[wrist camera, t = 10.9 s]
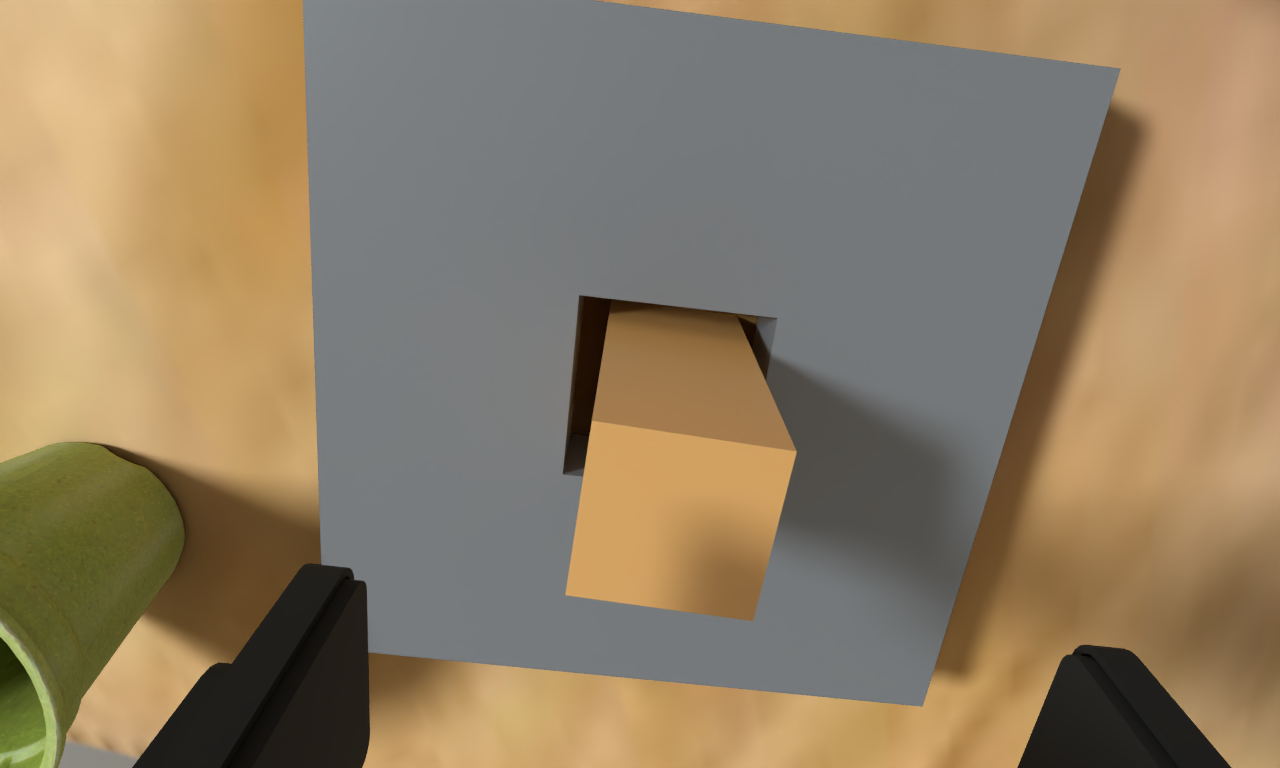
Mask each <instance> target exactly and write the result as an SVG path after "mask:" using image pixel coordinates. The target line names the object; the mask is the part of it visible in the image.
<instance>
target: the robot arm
mask: <svg viewBox="0 0 1280 768" xmlns="http://www.w3.org/2000/svg"><path fill="white" fill-rule="evenodd" d="M369 738H370V716H369V666H368V615H367V586H366V583H365V581H361V580H354V574H353V571H352V569H350V568H347V567H337V566H328V565H318V564H309V563H308V564H305V565H304V566H303V567H302V568H301V569H300V570H299V571H298V573H297V574H296V575H295V577H294V578H293V580H292V581H291V582H290V584H289V585H288V586H287V588H286V589H285V591H284V592H283V593H282V595H281V596H280V598H279V599H278V600H277V602H276V603H275V605H274V606H273V607H272V609H271V610H270V612H269V613H268V614H267V616H266V617H265V618H264V620H263V621H262V623H261V624H260V625H259V627H258V628H257V630H256V631H255V632H254V634H253V635H252V637H251V638H250V639H249V641H248V642H247V643H246V645H245V646H244V648H243V649H242V650H241V652H240V653H239V655H238V656H237V657H236V659H235V660H234V662H233V663H232V664H228V663H217V664H215V665H213V666H211V667H210V668H209V669H208V670H207V671H206V672H205V673H204V674H203V675H202V676H201V677H200V679H199V680H198V681H197V683H196V684H195V685H194V687H193V688H192V689H191V691H190V692H189V693H188V695H187V696H186V697H185V699H184V700H183V701H182V702H181V704H180V705H179V706H178V708H177V709H176V710H175V712H174V713H173V714H172V716H171V717H170V718H169V720H168V721H167V722H166V724H165V725H164V726H163V728H162V729H161V730H160V732H159V733H158V734H157V736H156V737H155V738H154V740H153V741H152V742H151V743H150V745H149V746H148V747H147V749H146V750H145V751H144V753H143V754H142V755H141V757H140V758H139V759H138V761H137V762H136V763H135V765H134V766H133V767H132V768H362V767H363V764H364V761H365V758H366V754H367V750H368V746H369ZM1018 768H1231V767H1230V765H1229V764H1228V763H1227V762H1226V761H1225V760H1224V758H1223V757H1222V756H1221V755H1220V754H1219V752H1218V751H1217V750H1216V749H1215V748H1214V747H1213V745H1212V744H1211V743H1210V742H1209V741H1208V739H1207V738H1206V737H1205V736H1204V735H1203V734H1202V732H1201V731H1200V730H1199V729H1198V728H1197V726H1196V725H1195V724H1194V723H1193V722H1192V721H1191V719H1190V718H1189V717H1188V716H1187V715H1186V713H1185V712H1184V711H1183V710H1182V709H1181V708H1180V706H1179V705H1178V704H1177V703H1176V702H1175V701H1174V699H1173V698H1172V697H1171V696H1170V695H1169V693H1168V692H1167V691H1166V690H1165V689H1164V688H1163V686H1162V685H1161V684H1160V683H1159V682H1158V680H1157V679H1156V678H1155V677H1154V676H1153V675H1152V673H1151V672H1150V671H1149V670H1148V669H1147V667H1146V666H1145V665H1144V664H1143V663H1142V662H1141V660H1140V659H1139V658H1138V657H1137V656H1136V655H1135V654H1134V653H1133V652H1131V651H1129V650H1126V649H1121V648H1112V647H1102V646H1092V645H1081V646H1079V647H1078V648H1076V649H1075V650H1074V652H1073V654H1071V655H1066V656H1065V657H1064V658H1063V659H1062V661H1061V662H1060V665H1059V667H1058V670H1057V672H1056V675H1055V677H1054V680H1053V682H1052V684H1051V687H1050V689H1049V692H1048V694H1047V697H1046V699H1045V702H1044V704H1043V707H1042V709H1041V711H1040V714H1039V716H1038V719H1037V721H1036V724H1035V726H1034V729H1033V731H1032V734H1031V736H1030V739H1029V741H1028V743H1027V746H1026V748H1025V751H1024V753H1023V756H1022V758H1021V761H1020V763H1019V766H1018Z"/></svg>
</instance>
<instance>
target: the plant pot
mask: <svg viewBox="0 0 1280 768" xmlns="http://www.w3.org/2000/svg"><path fill="white" fill-rule="evenodd" d="M184 542H185V531H184V525H183V520H182V517H181V514H180V511H179V509H178V507H177V504H176V502H175V501H174V499H173V497H172V496H171V494H170V493H169V491H168V490H167V488H166V487H165V486H164V485H163V484H162V482H161V481H160V480H159V479H158V478H157V477H156V476H155V475H154V474H153V473H152V472H151V471H149V470H148V469H147V468H145V467H143V466H140V465H136V464H134V463H131V462H128V461H126V460H124V459H122V458H120V457H118V456H116V455H114V454H113V453H111V452H110V451H109V450H107V449H106V448H104V447H103V446H100V445H96V444H91V443H83V442H64V443H57V444H53V445H48V446H46V447H43V448H40V449H37V450H35V451H32V452H29V453H27V454H24V455H21V456H18V457H15V458H13V459H10V460H8V461H5V462H2V463H0V768H58V766H59V763H60V760H61V757H62V755H63V751H64V746H65V741H66V733H67V732H68V730H69V728H70V727H71V725H72V723H73V721H74V719H75V717H76V715H77V713H78V710H79V706H80V703H81V699H82V698H83V696H84V695H85V693H86V692H87V691H88V689H89V688H90V686H91V685H92V684H93V682H94V681H95V679H96V678H97V677H98V675H99V674H100V673H101V671H102V670H103V668H104V667H105V666H106V664H107V663H108V661H109V660H110V659H111V657H112V656H113V654H114V653H115V652H116V650H117V649H118V647H119V646H120V645H121V643H122V642H123V640H124V639H125V638H126V636H127V635H128V633H129V632H130V631H131V629H132V628H133V626H134V625H135V624H136V622H137V621H138V620H139V618H140V617H141V615H142V614H143V613H144V611H145V610H146V608H147V607H148V606H149V604H150V603H151V601H152V600H153V599H154V597H155V596H156V595H157V593H158V592H159V591H160V589H161V588H162V587H163V585H164V584H165V583H166V581H167V580H168V579H169V577H170V576H171V575H172V573H173V571H174V570H175V568H176V565H177V563H178V561H179V558H180V555H181V552H182V549H183V547H184Z"/></svg>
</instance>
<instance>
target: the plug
mask: <svg viewBox="0 0 1280 768" xmlns="http://www.w3.org/2000/svg"><path fill="white" fill-rule="evenodd" d="M796 453H797V451H796V449H795V446H794V444H793V442H792V440H791V437H790V435H789V433H788V430H787V428H786V426H785V424H784V421H783V419H782V417H781V415H780V412H779V410H778V408H777V406H776V403H775V401H774V399H773V397H772V394H771V392H770V390H769V388H768V385H767V383H766V381H765V378H764V376H763V374H762V372H761V369H760V367H759V365H758V363H757V360H756V358H755V356H754V354H753V351H752V349H751V347H750V345H749V342H748V340H747V338H746V335H745V333H744V331H743V329H742V326H741V324H740V322H739V320H738V317H737V316H733V315H726V314H720V313H714V312H708V311H701V310H695V309H689V308H682V307H676V306H669V305H660V304H651V303H643V302H634V301H626V300H617V299H612V300H611V306H610V312H609V318H608V324H607V331H606V337H605V343H604V349H603V355H602V361H601V367H600V374H599V380H598V386H597V392H596V398H595V404H594V410H593V416H592V423H591V429H590V436H589V442H588V449H587V456H586V462H585V469H584V475H583V482H582V488H581V495H580V501H579V508H578V515H577V521H576V528H575V534H574V541H573V547H572V554H571V561H570V567H569V574H568V580H567V587H566V593H565V595H568V596H575V597H582V598H589V599H596V600H604V601H611V602H618V603H625V604H633V605H640V606H647V607H654V608H661V609H669V610H676V611H683V612H690V613H697V614H705V615H712V616H719V617H726V618H734V619H741V620H748V621H753V620H754V616H755V612H756V608H757V604H758V600H759V596H760V593H761V589H762V585H763V581H764V577H765V573H766V569H767V565H768V562H769V558H770V554H771V550H772V546H773V542H774V538H775V534H776V531H777V527H778V523H779V519H780V515H781V511H782V507H783V503H784V499H785V496H786V492H787V488H788V484H789V480H790V476H791V472H792V468H793V465H794V461H795V457H796Z"/></svg>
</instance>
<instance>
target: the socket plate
mask: <svg viewBox="0 0 1280 768" xmlns="http://www.w3.org/2000/svg"><path fill="white" fill-rule="evenodd" d="M303 20H304V51H305V82H306V112H307V143H308V174H309V204H310V235H311V265H312V296H313V327H314V357H315V388H316V419H317V449H318V480H319V510H320V541H321V565H328V566H337V567H347V568H350V569H352V571H353V574H354V580H361V581H365V583H366V586H367V615H368V653H379V654H389V655H399V656H409V657H420V658H430V659H440V660H450V661H461V662H471V663H481V664H491V665H502V666H512V667H522V668H532V669H543V670H553V671H563V672H573V673H584V674H594V675H604V676H614V677H625V678H635V679H645V680H655V681H666V682H676V683H686V684H696V685H706V686H717V687H727V688H737V689H747V690H758V691H768V692H778V693H788V694H799V695H809V696H819V697H829V698H840V699H850V700H860V701H870V702H881V703H891V704H901V705H911V706H923V703H924V700H925V697H926V694H927V690H928V687H929V684H930V681H931V677H932V674H933V671H934V668H935V665H936V661H937V658H938V655H939V652H940V648H941V645H942V642H943V639H944V636H945V632H946V629H947V626H948V623H949V620H950V616H951V613H952V610H953V607H954V603H955V600H956V597H957V594H958V591H959V587H960V584H961V581H962V578H963V574H964V571H965V568H966V565H967V562H968V558H969V555H970V552H971V549H972V546H973V542H974V539H975V536H976V533H977V529H978V526H979V523H980V520H981V517H982V513H983V510H984V507H985V504H986V500H987V497H988V494H989V491H990V488H991V484H992V481H993V478H994V475H995V471H996V468H997V465H998V462H999V459H1000V455H1001V452H1002V449H1003V446H1004V443H1005V439H1006V436H1007V433H1008V430H1009V426H1010V423H1011V420H1012V417H1013V414H1014V410H1015V407H1016V404H1017V401H1018V397H1019V394H1020V391H1021V388H1022V385H1023V381H1024V378H1025V375H1026V372H1027V368H1028V365H1029V362H1030V359H1031V356H1032V352H1033V349H1034V346H1035V343H1036V340H1037V336H1038V333H1039V330H1040V327H1041V323H1042V320H1043V317H1044V314H1045V311H1046V307H1047V304H1048V301H1049V298H1050V294H1051V291H1052V288H1053V285H1054V282H1055V278H1056V275H1057V272H1058V269H1059V266H1060V262H1061V259H1062V256H1063V253H1064V249H1065V246H1066V243H1067V240H1068V237H1069V233H1070V230H1071V227H1072V224H1073V220H1074V217H1075V214H1076V211H1077V208H1078V204H1079V201H1080V198H1081V195H1082V191H1083V188H1084V185H1085V182H1086V179H1087V175H1088V172H1089V169H1090V166H1091V163H1092V159H1093V156H1094V153H1095V150H1096V146H1097V143H1098V140H1099V137H1100V134H1101V130H1102V127H1103V124H1104V121H1105V117H1106V114H1107V111H1108V108H1109V105H1110V101H1111V98H1112V95H1113V92H1114V88H1115V85H1116V82H1117V79H1118V76H1119V72H1120V69H1119V68H1112V67H1104V66H1096V65H1088V64H1081V63H1073V62H1065V61H1058V60H1050V59H1042V58H1034V57H1027V56H1019V55H1011V54H1004V53H996V52H988V51H980V50H973V49H965V48H957V47H950V46H942V45H934V44H926V43H919V42H911V41H903V40H896V39H888V38H880V37H872V36H865V35H857V34H849V33H842V32H834V31H826V30H818V29H811V28H803V27H795V26H788V25H780V24H772V23H764V22H757V21H749V20H741V19H733V18H726V17H718V16H710V15H703V14H695V13H687V12H679V11H672V10H664V9H656V8H649V7H641V6H633V5H625V4H618V3H610V2H602V1H595V0H303ZM585 296H591V297H600V298H608V299H617V300H626V301H634V302H643V303H651V304H660V305H669V306H677V307H686V308H695V309H703V310H712V311H721V312H729V313H738V314H747V315H755V316H758V318H757V323H756V329H755V335H754V340H753V346H752V351H753V354H754V356H755V358H756V360H757V363H758V365H759V367H760V369H761V372H762V374H763V376H764V378H765V381H766V383H767V385H768V388H769V390H770V392H771V394H772V397H773V399H774V401H775V403H776V406H777V408H778V410H779V412H780V415H781V417H782V419H783V421H784V424H785V426H786V428H787V430H788V433H789V435H790V437H791V440H792V442H793V444H794V446H795V449H796V451H797V453H796V457H795V461H794V465H793V468H792V472H791V476H790V480H789V484H788V488H787V492H786V496H785V499H784V503H783V507H782V511H781V515H780V519H779V523H778V527H777V531H776V534H775V538H774V542H773V546H772V550H771V554H770V558H769V562H768V565H767V569H766V573H765V577H764V581H763V585H762V589H761V593H760V596H759V600H758V604H757V608H756V612H755V616H754V620H753V621H748V620H741V619H734V618H726V617H719V616H712V615H705V614H697V613H690V612H683V611H676V610H669V609H661V608H654V607H647V606H640V605H633V604H625V603H618V602H611V601H604V600H596V599H589V598H582V597H575V596H568V595H565V593H566V587H567V580H568V574H569V567H570V561H571V554H572V547H573V541H574V534H575V528H576V521H577V515H578V508H579V501H580V495H581V488H582V482H583V475H584V469H585V462H586V456H587V449H588V442H589V435H580V434H572V425H573V415H574V404H575V393H576V383H577V372H578V361H579V351H580V340H581V329H582V319H583V308H584V298H585Z"/></svg>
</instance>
